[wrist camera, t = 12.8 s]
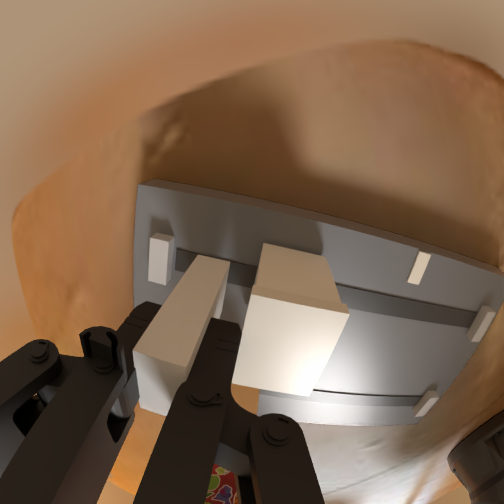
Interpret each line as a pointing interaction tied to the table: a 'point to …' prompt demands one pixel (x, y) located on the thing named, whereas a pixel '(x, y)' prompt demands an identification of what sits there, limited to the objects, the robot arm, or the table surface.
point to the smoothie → (221, 487)
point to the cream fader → (289, 322)
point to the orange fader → (246, 397)
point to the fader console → (350, 291)
